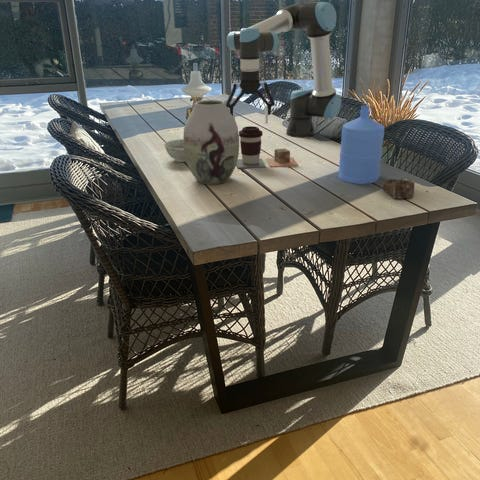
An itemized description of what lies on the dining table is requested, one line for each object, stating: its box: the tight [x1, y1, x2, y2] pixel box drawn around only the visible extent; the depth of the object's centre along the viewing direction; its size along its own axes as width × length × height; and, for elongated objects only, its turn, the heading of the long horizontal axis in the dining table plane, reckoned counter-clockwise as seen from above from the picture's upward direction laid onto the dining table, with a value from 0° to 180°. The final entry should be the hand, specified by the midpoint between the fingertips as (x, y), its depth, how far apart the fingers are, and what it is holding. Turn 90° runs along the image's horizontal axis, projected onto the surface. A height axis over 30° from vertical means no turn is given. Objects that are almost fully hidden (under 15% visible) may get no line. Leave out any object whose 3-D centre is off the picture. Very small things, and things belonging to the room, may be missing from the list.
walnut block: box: [273, 148, 291, 164], centre depth 211 cm, size 5×5×5 cm
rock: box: [382, 178, 415, 200], centre depth 173 cm, size 13×8×6 cm, turn 3°
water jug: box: [337, 105, 385, 185], centre depth 186 cm, size 16×16×28 cm
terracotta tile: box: [266, 156, 299, 168], centre depth 212 cm, size 12×12×1 cm
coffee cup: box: [238, 125, 264, 165], centre depth 208 cm, size 10×10×15 cm
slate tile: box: [236, 158, 267, 170], centre depth 211 cm, size 12×12×1 cm
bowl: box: [163, 138, 187, 163], centre depth 217 cm, size 16×16×8 cm
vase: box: [182, 99, 240, 186], centre depth 186 cm, size 21×21×30 cm
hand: (250, 123), depth 204 cm, fingers open, 13 cm apart
